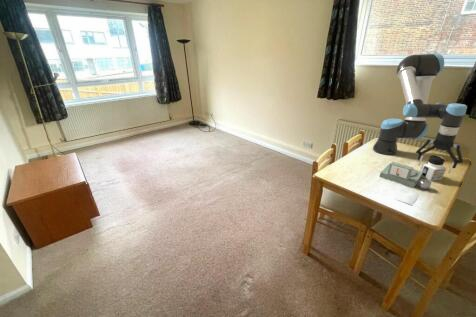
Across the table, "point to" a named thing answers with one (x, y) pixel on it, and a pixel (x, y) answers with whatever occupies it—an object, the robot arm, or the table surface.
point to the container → (433, 168)
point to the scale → (401, 174)
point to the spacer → (424, 184)
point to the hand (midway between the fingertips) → (433, 168)
